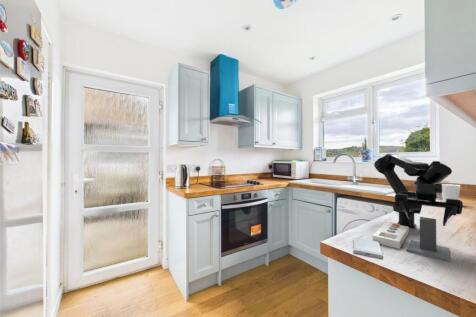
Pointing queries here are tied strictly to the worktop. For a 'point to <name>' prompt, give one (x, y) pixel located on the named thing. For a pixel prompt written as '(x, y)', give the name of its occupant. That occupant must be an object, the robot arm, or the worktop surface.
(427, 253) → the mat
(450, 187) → the foam cup
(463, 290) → the worktop surface
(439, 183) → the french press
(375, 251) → the hard drive
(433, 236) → the block
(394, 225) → the power strip
